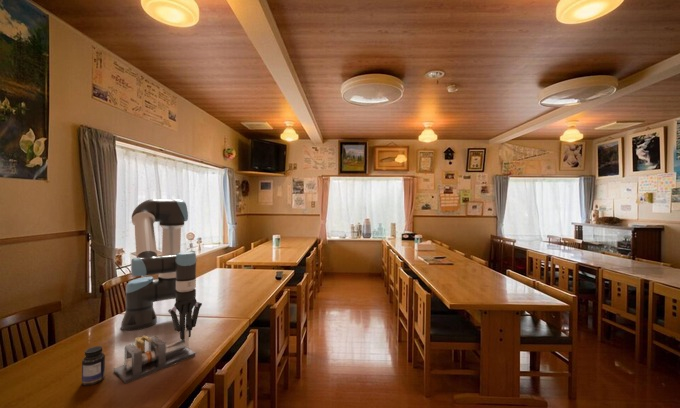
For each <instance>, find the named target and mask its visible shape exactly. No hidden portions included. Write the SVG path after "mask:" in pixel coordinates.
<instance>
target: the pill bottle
mask: <svg viewBox="0 0 680 408" xmlns="http://www.w3.org/2000/svg"><path fill="white" fill-rule="evenodd" d="M105 368H106V355H105V353H104V352H103V346H100V345H99V346H98V345H95V346H91V347H88V348H87V349H85V350H84V358H82V360H81V382H82V383H81V385H82V386H92V385H95V384H98V383H100V382H101V381H103V380H104V378H105V377H106V376H105V374H106V372H105V370H106V369H105Z"/></svg>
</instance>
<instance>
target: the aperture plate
mask: <svg viewBox="0 0 680 408" xmlns="http://www.w3.org/2000/svg"><path fill="white" fill-rule="evenodd" d="M150 338H151V337H148V336H147V335H142V336H141V337H139V336H137V337H135V340H134V345H135V346H136V347H137V348H139V349H140V350H141V351H142V354H143V353H145V352H146V342H148V343H149V342H151V339H150Z"/></svg>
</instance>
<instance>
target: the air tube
mask: <svg viewBox="0 0 680 408" xmlns="http://www.w3.org/2000/svg"><path fill="white" fill-rule="evenodd" d="M184 349H185V342H184V340H181V339H179V340H178V341H174V342H172V343H169V344H166V356H169V355H171V354H174V353H177V352H179V351H182V350H184ZM155 360H156V349H154V350H151V351H149V350H148V351H145V353H143V354H142V365H145V364H148V363H151V362H153V361H155ZM123 365H124V368H125V371H129V370H131V369H132V357H131V358H128V359H125V360H124V361H123Z"/></svg>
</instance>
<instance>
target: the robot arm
mask: <svg viewBox="0 0 680 408" xmlns="http://www.w3.org/2000/svg"><path fill="white" fill-rule="evenodd" d="M187 207H188V206H187V203H186V202H185V201H184V200H183V199H173V198H172V199H170V198H169V199H165V198H164V199H163V198H162V199H159V198H158V199H156V198H155V199H154V198H152V199H148V200H147V199H146V200H145V201H142V202H141V203H139V204H138V205H136V207H135V208H134V210H133V212H132V214H131V223H132V225H133V226H134V237H135V238H134V239H135V241H134V242H135V255H136V256H135V257H133V258H132V259H131V263H130V265H131V266H130V267H131V269H130V270H131V271H130V272H131V273H130V274H131V276H132V277H138V278H134V279H132V280H130V281H128V283H126V286H125V311H124V312H125V313H124V315H123V318H122V320H121V324H120V328H121V329H122V330H124V331H135V330H136V331H137V330H142V329H145V328H149V327H152V326H153V325H155V324H156V323H157V321H158V317H157V314H156V312H155V309H154V303H155V302H162V301H168V300H174V299H175V303H174V306H173V307H172V308H170V309H168V311H167V312H168V314H170V316H171V320H172V323H173V327H174V331H176V332H177V333H179V340H184V342H185V348H186V347H187V348H189V346H190V345H189V343H190V341H189V339H190V338H191V337H192V330H193V328H195V327H196V326H197V322H198V317H199V313H200V309H201V307H202V305H203V303H202V302H200V301H197V298H196V296H197V289H196V287H197V276H196V275H197V253H196V252H194V251H181V246H182V245H181V242H182V241H181V240H182V239H181V238H182V234H181V233H182V227H183V226H184V225H185V222H187V221H188V219H189V212H188V208H187ZM157 222H158V224H159V226H160V228H162V235H161V237H162V238H161V239H162V241H161V244H162V246H161V255H158V249H157V244H156V243H157V242H156V235H155V233H156V232H155V226H154V225H155V223H157ZM152 275H158V276H157V278H154V276H152ZM177 312H178V313H179V314H178V315H179V318H178V315H177Z"/></svg>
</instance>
